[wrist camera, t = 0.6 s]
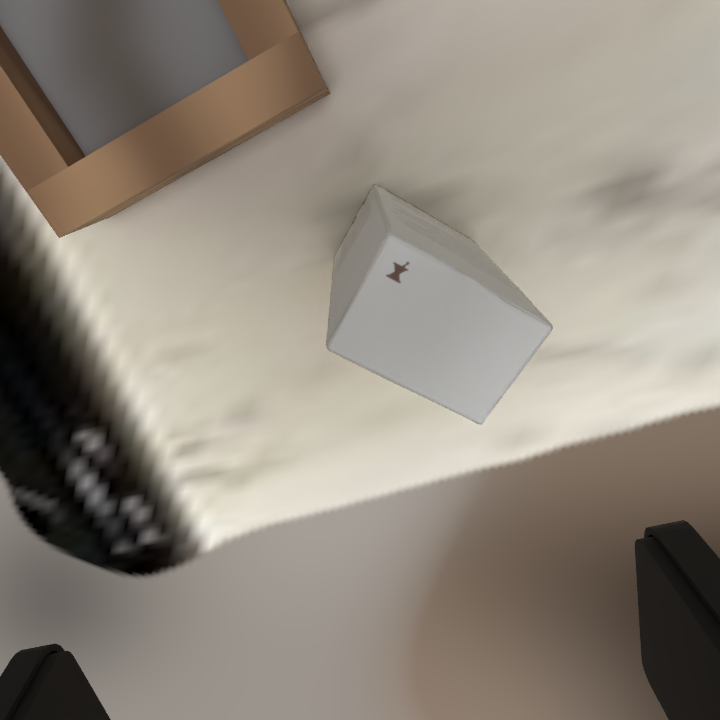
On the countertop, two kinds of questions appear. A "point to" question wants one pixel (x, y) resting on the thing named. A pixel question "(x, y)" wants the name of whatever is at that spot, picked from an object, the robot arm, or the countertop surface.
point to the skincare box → (429, 309)
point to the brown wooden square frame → (139, 94)
